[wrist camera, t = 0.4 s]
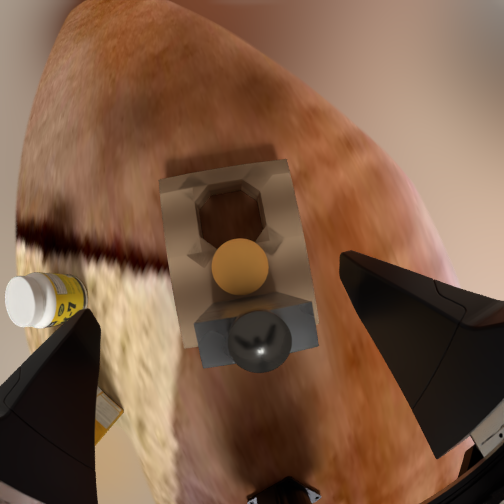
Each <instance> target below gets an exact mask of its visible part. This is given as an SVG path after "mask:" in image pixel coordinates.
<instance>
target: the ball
mask: <svg viewBox="0 0 504 504" xmlns="http://www.w3.org/2000/svg"><path fill="white" fill-rule="evenodd" d="M268 269H269V266H268V259H267V256H266V254H265V252H264V251H263V249H262V248H261V247H260V246H259V245H258V244H256V243H255V242H253V241H251V240H248V239H242V238H238V239H232V240H229V241H227V242H225V243H224V244H222V245H221V246H220V247H219V248H218V250H217V251H216V252H215V254H214V257H213V260H212V274H213V277H214V279H215V281H216V283H217V284H218V285H219V287H220V288H221V289H223V290H224V291H226V292H228V293H230V294H233V295H247V294H250V293H253V292H254V291H256V290H257V289H259V288H260V287H261V286H262V284H263V283H264V282H265V280H266V277H267V275H268Z"/></svg>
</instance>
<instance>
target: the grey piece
mask: <svg viewBox="0 0 504 504" xmlns="http://www.w3.org/2000/svg"><path fill="white" fill-rule="evenodd" d="M194 328H195V333H196V338H197V342H198V347H199V352H200V356H201V361H202V365H203V368H210V367H217V366H224V365H230V364H237V365H238V366H240V367H241V368H243V369H245V370H247V371H250V372H254V373H264V372H269V371H271V370H274V369H276V368H277V367H279V366H280V365H281V364H282V363H284V361H285V360H286V359H287V357H288V356H289V353H292V352H297V351H301V350H305V349H309V348H313V347H317V346H319V344H318V337H317V331H316V324H315V318H314V311H313V305H312V301H308V300H304V299H301V298H297V297H294V296H290V295H287V294H283V293H280V292H272V293H267V294H261V295H256V296H250V297H245V298H239V299H234V300H228V301H222V302H216V303H212V304H211V306H210V307H209V308H208V309H207V310H206V311H205V312H204V313H203V314H202V315H201V316H200V317H199V318H198V319H197V320H196V321H195V322H194Z"/></svg>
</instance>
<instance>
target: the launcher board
mask: <svg viewBox="0 0 504 504" xmlns="http://www.w3.org/2000/svg"><path fill="white" fill-rule="evenodd" d="M159 190H160V200H161V210H162V219H163V228H164V236H165V243H166V250H167V257H168V264H169V271H170V277H171V283H172V289H173V295H174V300H175V306H176V311H177V316H178V321H179V326H180V331H181V336H182V340H183V345H184V349H185V348H192V347H198V342H197V338H196V333H195V328H194V322H195V321H196V320H197V319H198V318H199V317H200V316H201V315H202V314H203V313H204V312H205V311H206V310H207V309H208V308H209V307H210V306H211V304H212V303H216V302H222V301H228V300H234V299H239V298H245V297H250V296H256V295H261V294H267V293H272V292H280V293H283V294H287V295H290V296H294V297H297V298H301V299H304V300H308V301H312V305H313V311H314V318H315V324H319V318H318V312H317V306H316V300H315V294H314V288H313V282H312V276H311V271H310V265H309V260H308V255H307V249H306V244H305V239H304V234H303V229H302V224H301V220H300V215H299V210H298V206H297V201H296V197H295V192H294V188H293V183H292V179H291V175H290V170H289V166H288V162H287V159H282V160H274V161H265V162H258V163H250V164H243V165H236V166H230V167H223V168H217V169H211V170H206V171H200V172H195V173H189V174H184V175H179V176H174V177H169V178H165V179H160V180H159ZM235 191H243V192H244V193H246V194H247V195H249V196H250V197H252V198H253V199H255V200H256V201H257V202H258V207H259V213H260V218H261V223H262V228H263V231H262V233H261V234H260V235H259V237H258V238H257V240H256V241H255V243H256V244H258V245H259V246H260V247H261V248H262V249H263V251H264V252H265V254H266V256H267V259H268V266H269V269H268V275H267V277H266V280H265V282H264V283H263V284H262V286H261V287H260V288H259V289H257V290H256V291H254V292H253V293H250V294H247V295H233V294H230V293H228V292H226V291H224V290H223V289H221V288H220V287H219V285H218V284H217V283H216V281H215V279H214V277H213V274H212V260H213V257H214V254H215V252H216V251H217V250H218V249H216V248H215V247H213V246H212V245H211V244H209V243H208V242H206V241H205V240H204V239H203V234H202V228H201V221H200V214H199V210H200V209H201V208H202V206H203V205H204V204H205V202H206V201H207V200H208V198H209V197H210V196H211V195H216V194H222V193H228V192H235Z"/></svg>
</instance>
